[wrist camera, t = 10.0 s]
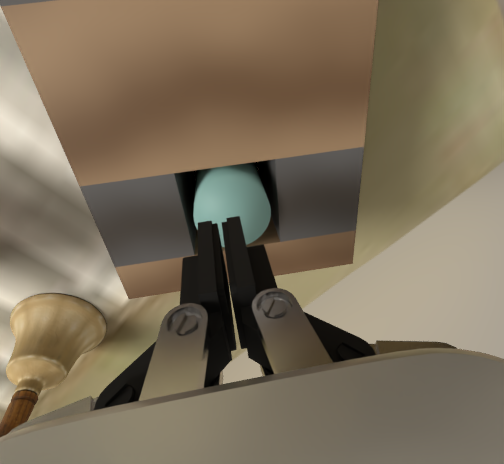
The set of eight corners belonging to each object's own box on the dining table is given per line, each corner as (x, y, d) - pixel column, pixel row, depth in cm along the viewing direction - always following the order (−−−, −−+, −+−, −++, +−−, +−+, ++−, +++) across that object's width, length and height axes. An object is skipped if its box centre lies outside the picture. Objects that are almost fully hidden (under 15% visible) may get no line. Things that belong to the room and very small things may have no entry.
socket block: (9, -190, 14) (-179, -405, 7) (321, -215, 14) (421, -432, 8) (149, 229, 26) (129, 299, 19) (315, 205, 26) (352, 263, 20)
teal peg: (191, 143, 21) (185, 186, 15) (250, 135, 21) (268, 174, 15) (202, 196, 23) (201, 252, 17) (256, 189, 23) (273, 241, 17)
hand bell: (90, 287, 28) (-15, 516, 15) (117, 346, 33) (55, 563, 19) (-7, 299, 27) (-208, 549, 14) (34, 357, 32) (-89, 589, 19)
